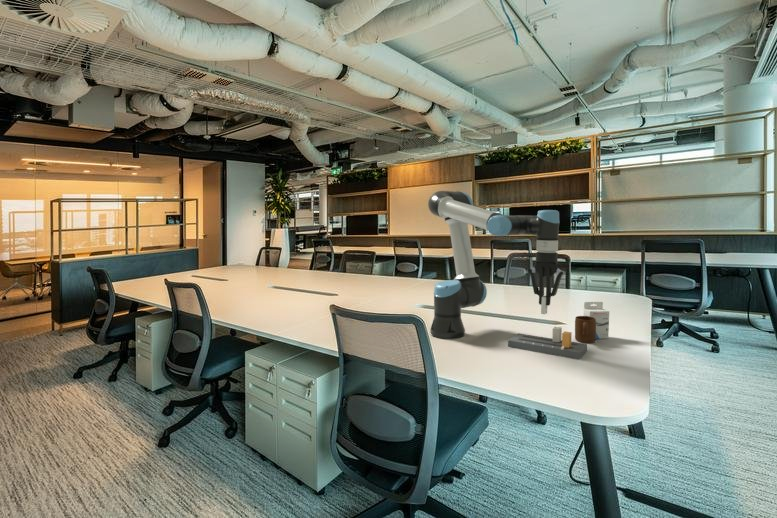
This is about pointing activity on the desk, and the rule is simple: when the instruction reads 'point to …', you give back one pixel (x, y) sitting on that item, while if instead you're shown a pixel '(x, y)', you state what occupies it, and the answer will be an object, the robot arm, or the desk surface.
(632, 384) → the desk surface
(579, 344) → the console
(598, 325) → the ink box
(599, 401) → the desk surface
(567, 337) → the fader tab
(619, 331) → the desk surface
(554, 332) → the fader far
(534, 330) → the desk surface
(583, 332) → the mug
